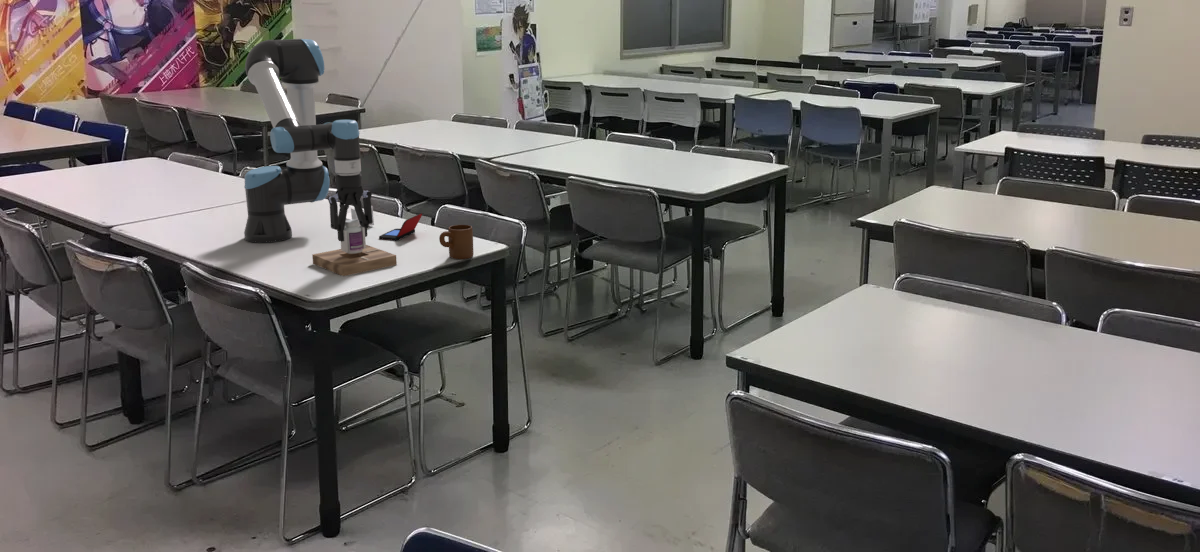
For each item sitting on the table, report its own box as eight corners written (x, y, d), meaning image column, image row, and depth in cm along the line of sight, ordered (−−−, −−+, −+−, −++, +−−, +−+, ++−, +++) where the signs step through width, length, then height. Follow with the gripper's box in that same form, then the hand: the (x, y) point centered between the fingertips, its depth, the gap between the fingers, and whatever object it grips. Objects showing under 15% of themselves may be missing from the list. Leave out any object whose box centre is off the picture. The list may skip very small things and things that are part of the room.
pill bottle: (366, 250, 293) (364, 219, 291) (358, 254, 288) (356, 223, 286) (349, 249, 294) (347, 218, 292) (341, 253, 289) (339, 222, 287)
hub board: (313, 264, 293) (312, 253, 292) (365, 253, 305) (364, 243, 304) (343, 276, 280) (342, 265, 279) (396, 264, 292) (396, 254, 291)
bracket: (374, 227, 339) (372, 206, 337) (356, 230, 334) (355, 209, 332) (353, 221, 348) (351, 201, 346) (335, 224, 343) (334, 204, 341)
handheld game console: (396, 231, 334) (394, 210, 332) (424, 233, 331) (423, 212, 329) (377, 239, 322) (376, 218, 320) (406, 242, 319) (405, 220, 317)
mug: (448, 264, 293) (447, 233, 291) (432, 259, 298) (431, 229, 295) (478, 256, 302) (477, 227, 299) (462, 252, 307) (461, 223, 304)
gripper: (326, 179, 276) (332, 257, 282) (382, 171, 288) (386, 246, 295) (313, 175, 281) (319, 252, 288) (369, 167, 293) (373, 241, 300)
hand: (353, 249), depth 291 cm, fingers closed on pill bottle, 5 cm apart
